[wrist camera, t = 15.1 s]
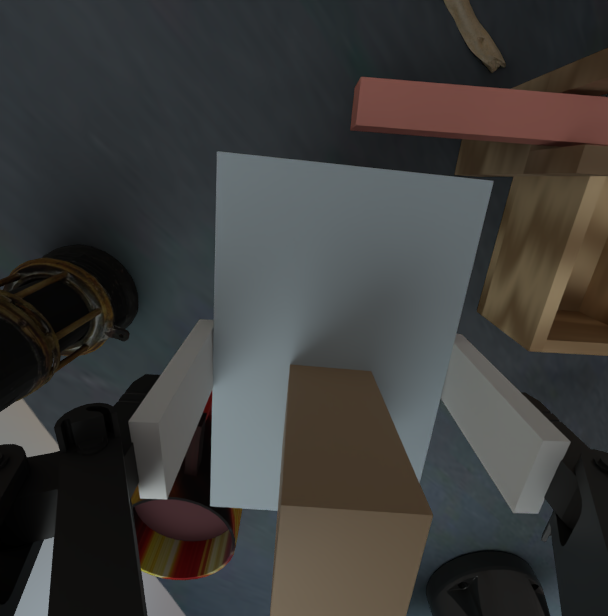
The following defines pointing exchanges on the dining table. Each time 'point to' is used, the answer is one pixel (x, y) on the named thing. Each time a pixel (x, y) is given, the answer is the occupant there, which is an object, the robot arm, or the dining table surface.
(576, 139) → the bar
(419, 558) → the lid
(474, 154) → the post
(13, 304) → the lantern
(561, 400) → the dining table surface
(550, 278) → the open wooden box
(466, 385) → the robot arm
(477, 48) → the jawbone
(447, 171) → the dining table surface
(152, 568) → the mug
